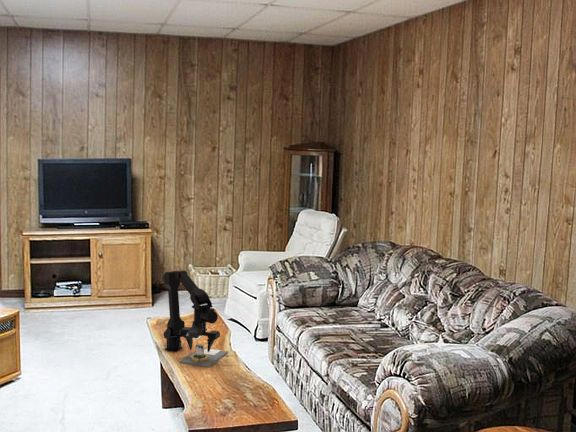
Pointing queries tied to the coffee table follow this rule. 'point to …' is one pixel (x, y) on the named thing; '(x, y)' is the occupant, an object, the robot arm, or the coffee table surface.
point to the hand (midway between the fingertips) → (199, 350)
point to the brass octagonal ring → (199, 358)
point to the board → (208, 363)
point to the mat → (211, 352)
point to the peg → (199, 351)
